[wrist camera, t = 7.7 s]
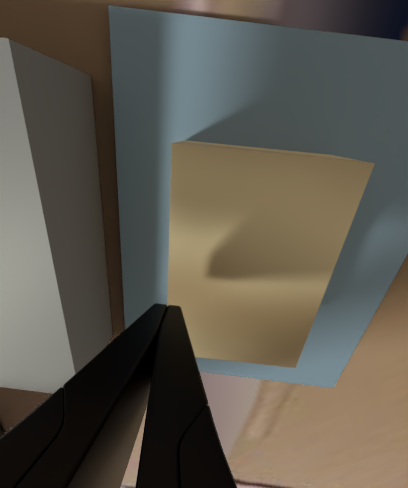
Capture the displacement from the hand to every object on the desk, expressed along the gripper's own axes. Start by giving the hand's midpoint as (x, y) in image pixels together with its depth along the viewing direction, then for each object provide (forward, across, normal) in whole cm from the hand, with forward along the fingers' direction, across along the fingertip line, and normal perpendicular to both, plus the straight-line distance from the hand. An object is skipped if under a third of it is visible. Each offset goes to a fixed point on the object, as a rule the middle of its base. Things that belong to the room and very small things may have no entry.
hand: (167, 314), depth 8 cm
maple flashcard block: (+2, -3, -1) cm, 3 cm away
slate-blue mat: (+5, -4, 0) cm, 6 cm away
